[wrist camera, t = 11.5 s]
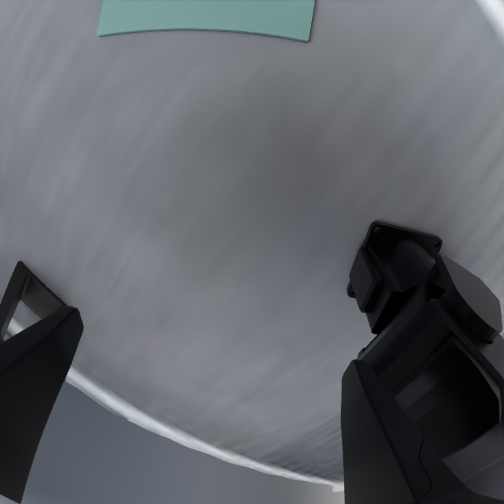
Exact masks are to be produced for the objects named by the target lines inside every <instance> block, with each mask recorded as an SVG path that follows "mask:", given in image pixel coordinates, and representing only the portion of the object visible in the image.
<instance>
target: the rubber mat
mask: <svg viewBox="0 0 504 504" xmlns="http://www.w3.org/2000/svg"><path fill="white" fill-rule="evenodd" d="M314 3H315V0H103V4H102V8H101V13H100V18H99V23H98V29H97V35H96V36H100V37H102V36H109V35H116V34H125V33H135V32H148V31H169V30H203V31H224V32H238V33H248V34H257V35H265V36H272V37H279V38H285V39H291V40H296V41H301V42H306V43H307V42H308V39H309V33H310V27H311V22H312V16H313V10H314Z"/></svg>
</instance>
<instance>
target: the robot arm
mask: <svg viewBox="0 0 504 504" xmlns="http://www.w3.org/2000/svg"><path fill="white" fill-rule="evenodd" d="M377 227H379V230H378V231H374V229H375V228H377ZM436 242H438V243H437V244H436V245H435V243H436ZM441 246H442V240H441V239H440V238H439V237H437V236H434V235H430V234H426V233H422V232H418V231H414V230H410V229H406V228H402V227H398V226H394V225H389V224H385V223H381V222H374V223H372V224H371V225H370V227H369V230H368V233H367V236H366V239H365V242H364V245H363V247H361V248H360V249H359V251H358V254H357V256H356V259H355V262H354V265H353V267H352V270H351V273H350V275H349V278H350V282H349V285H348V287H347V294H348V296H349V297H351V298H356V300H357V303H358V306H359V309H360V311H361V312H362V313H366V315H367V318H368V322H369V325H370V328H371V332H372V333H373V334H378V335H377V336H376V337H375V338H374V339H373V340H372V341H371V342H370V343H369V344H368V346H367V347H366V348H363V349H362V350H361V351H360V352H359V353H358V358H357V359H356V360H352V361H351V362H350V364H349V366H348V368H347V369H346V371H345V373H344V374H343V377H342V398H341V433H342V448H343V466H344V494H345V504H504V339H503V337H502V336H501V335H500V334H499V333H500V332H501V331H502V318H501V309H500V301H499V300H498V299H497V297H496V296H495V295H494V294H493V293H492V292H491V290H490V289H489V288H488V287H487V286H486V285H485V284H484V282H483V281H482V280H481V279H479V278H478V277H476V276H475V275H474V274H472V273H471V272H469V271H467V270H466V269H464V268H463V267H461V266H460V265H458V264H457V263H455V262H454V261H452V260H450V259H449V258H447V257H446V256H444V255H442V254H441V253H440V254H439V255H438V253H439V251H440V249H441ZM437 255H438V257H437ZM353 290H354V292H351V291H353ZM83 328H84V327H83V322H82V319H81V315H80V312H79V310H78V309H77V308H75V307H72V306H65V307H63V308H62V309H60V310H58V311H56V312H54V313H53V314H51V315H49V316H47V317H46V318H44V319H42V320H40V321H39V322H37V323H35V324H33V325H32V326H30V327H28V328H26V329H25V330H23V331H21V332H19V333H18V334H16V335H14V336H13V337H11V338H9V339H7V340H6V341H4V342H2V343H1V344H0V494H1V495H3V496H5V497H7V498H9V499H11V500H13V501H15V502H17V503H19V504H20V503H21V501H22V497H23V493H24V490H25V486H26V483H27V479H28V476H29V472H30V469H31V466H32V463H33V459H34V456H35V454H36V451H37V447H38V445H39V442H40V439H41V436H42V433H43V431H44V428H45V425H46V423H47V420H48V418H49V415H50V413H51V410H52V408H53V405H54V403H55V401H56V398H57V396H58V394H59V391H60V389H61V387H62V384H63V382H64V380H65V378H66V376H67V373H68V371H69V369H70V366H71V364H72V361H73V358H74V355H75V352H76V349H77V347H78V344H79V341H80V338H81V336H82V333H83Z"/></svg>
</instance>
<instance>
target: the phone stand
mask: <svg viewBox="0 0 504 504" xmlns="http://www.w3.org/2000/svg"><path fill="white" fill-rule="evenodd" d="M20 300H22V301H23V302H24V303H25V304H26V305H27V306H28V307H30V308H31V309H32V310H33V311H34V312H35V313H36V314H37V315H38V316H39V317H40V318H41V319H44V318H46V317H47V316H49V315H51V314H53V313H54V312H56V311H58V310H60V309H62V308H63V307H65V306H68V305H66V304H65V303H64V302H63V301H62V300H61V299H60V298H58V297H57V296H56V295H55V294H54V293H53V292H52V291H51V290H50V289H49V288H46V286H45V285H44V284H43V283H42V282H41V281H40V280H39V279H38V278H37V277H36V276H35V275H34V274H33V273H32V272H31V271H30V270H29V269H28V268H27V267H26V266H25V265H24V264H23V263H22V262H21V261H19V262H18V263H17V265H16V267H15V270H14V272H13V274H12V276H11V279H10V281H9V284H8V286H7V289H6V291H5V294H4V296H3V299H2V302H1V304H0V344H1V343H2V342H4V340H3V338H4V336H5V333H6V331H7V328H8V326H9V323H10V321H11V319H12V316H13V314H14V312H15V309H16V307H17V305H18V303H19V301H20Z"/></svg>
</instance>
